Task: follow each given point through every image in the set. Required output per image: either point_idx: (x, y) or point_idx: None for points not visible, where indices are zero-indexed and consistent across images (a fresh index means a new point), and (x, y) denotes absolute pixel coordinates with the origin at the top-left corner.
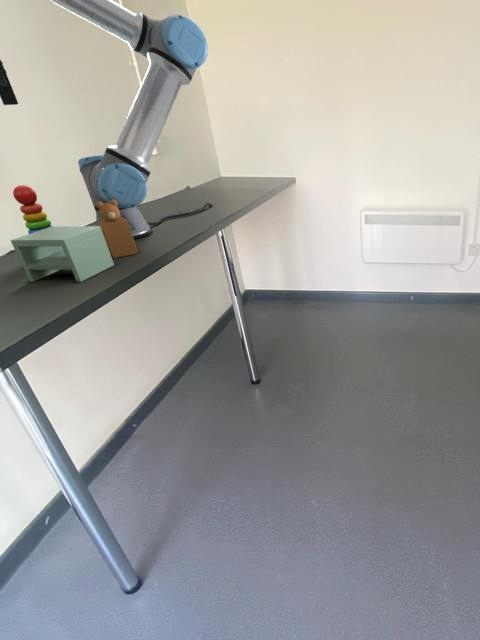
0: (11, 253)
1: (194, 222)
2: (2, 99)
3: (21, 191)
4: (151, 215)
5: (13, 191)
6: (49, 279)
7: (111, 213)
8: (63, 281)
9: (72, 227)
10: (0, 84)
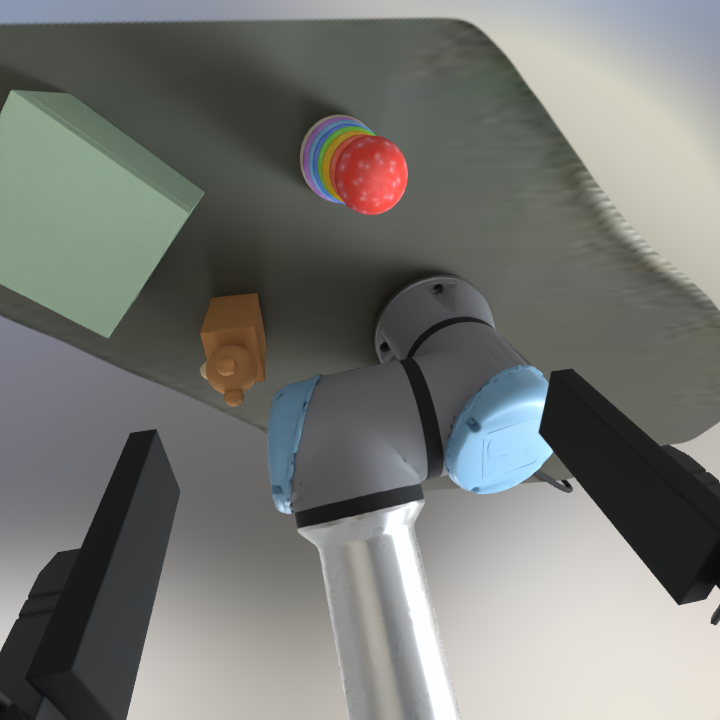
0: (469, 33)
1: None
2: (571, 396)
3: (342, 174)
4: (599, 386)
5: (368, 144)
6: None
7: (201, 374)
8: None
9: (132, 272)
10: (42, 575)
